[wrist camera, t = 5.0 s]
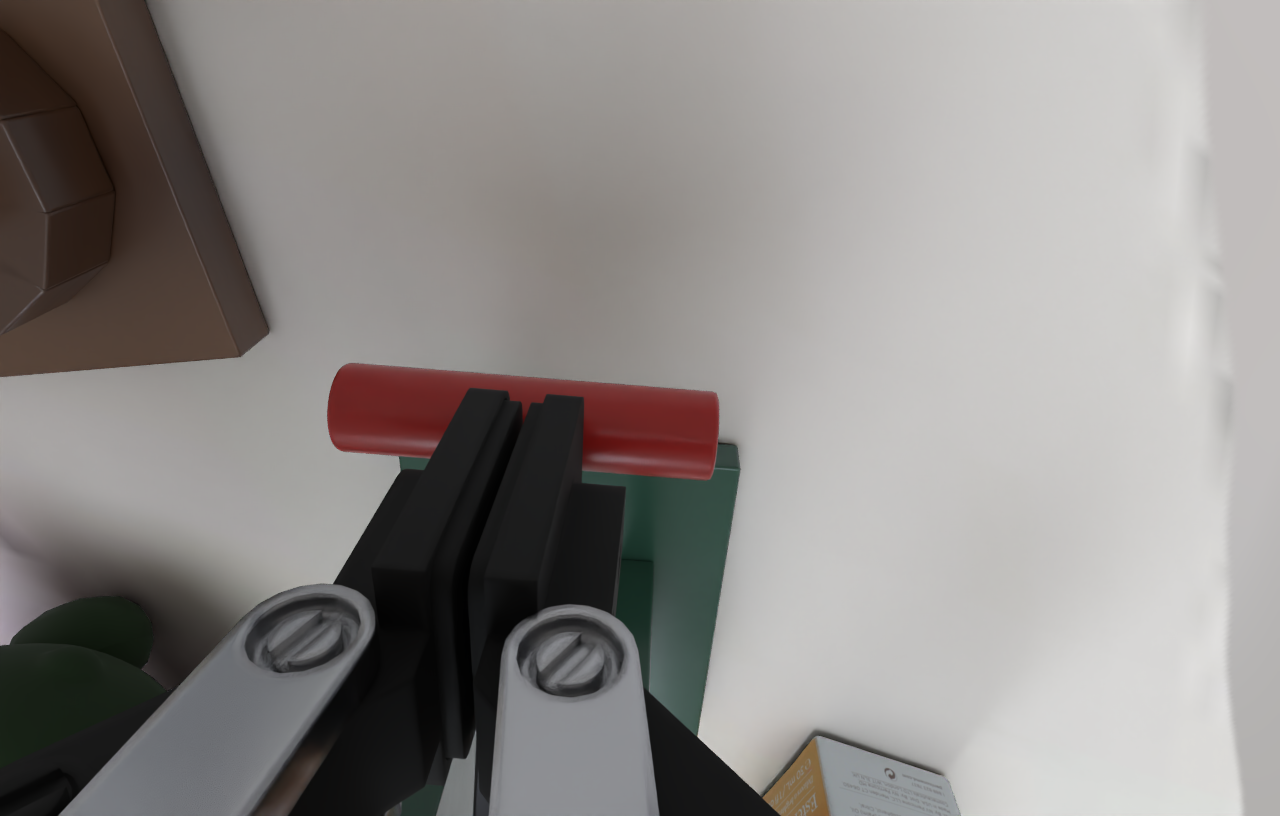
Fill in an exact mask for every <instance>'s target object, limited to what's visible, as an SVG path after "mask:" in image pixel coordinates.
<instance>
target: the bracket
mask: <svg viewBox="0 0 1280 816" xmlns="http://www.w3.org/2000/svg"><path fill="white" fill-rule="evenodd" d="M399 460H400V469H401V471H402V470H404V469H417V470H424V469H425V467H426V465H427V464H428V462H429V460H430V459H429V458H416V457H404V456H399ZM740 470H741V469H740V462H739V455H738V448H737V446H735V445H725V444H718V446H717V455H716V462H715V467H714V472H713V475H712V477H711V479H709V480H706V481H704V480H692V479H679V478H667V477H654V476H642V475H629V474H617V473H604V472H592V471H582V483H588V484H600V485H612V486H624V487H626V501H625V515H624V530H623V543H622V555H621V567H620V577H619V587H618V597H617V607H616V616H615V618H617V619H618V620H620V621H621V622H623V624H624V625H625V626H626V627H627V628H628V630H629V631H630V632H631V633H632V635H633V637H634V640H635V643H636V646H637V649H638V652H639V660H640V668H641V676H642V683H643V687H644V688H645V689H646V690H648V691H649V692H650V693H651V694H652V695H653V696H654V697H655V698H656V699H657V700H658V701H659V702H660V703H661V704H662V705H664V706H665V707H666V708H667V709H668V710H669V711H670V712H671V713H672V714H673V715H674V716H675V717H676V718H677V719H678V720H680V721H681V722H682V723H683V724H684V725H685V726H686V727H687V728H688V729H689V730H690V731H691V732H692V733H693V734H694V735H696V736H697V735H698V729H699V723H700V717H701V711H702V704H703V698H704V692H705V686H706V680H707V674H708V667H709V661H710V655H711V649H712V643H713V636H714V630H715V624H716V618H717V612H718V606H719V599H720V593H721V587H722V581H723V575H724V568H725V562H726V556H727V550H728V544H729V538H730V531H731V525H732V519H733V513H734V507H735V500H736V494H737V488H738V482H739V476H740ZM475 753H476V731H475V734H474V738H473V741H472V745H471V748H470V751H469V754H468V756H467V758H466V759H457V758H453V760H452V763H451V767H450V770H449V773H448V777H447V780H446V783H445V786H439V785H427V784H426V785H425V787H424V788H422V789H421V790H419V791H418V792H416V793H414V794H413V795H411V796H410V797H408V798H407V799H405V800H404V801H402V802H401V815H400V816H473V800H474V776H475Z"/></svg>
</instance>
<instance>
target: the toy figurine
mask: <svg viewBox="0 0 1280 816" xmlns="http://www.w3.org/2000/svg"><path fill="white" fill-rule="evenodd" d="M153 640H154V637H153V630H152V623H151V621H150V619H149V618H148V616H147V615H146V613H145V612H144V610H143V609H142V608H141V607H140V606H139V605H138V604H136V603H134V602H131V601H129V600H127V599H125V598H122V597H120V596H100V597H91V598H82V599H78V600H75V601H72V602H69V603H66V604H63V605H60V606H58V607H56V608H53V609H51V610H48V611H46V612H45V613H43V614H42V615H40V616H39V617H37V618H36V619H35V620H33V621H32V622H30V623H29V624H28V625H26V626H25V627H23V628H22V629H21V630H20V631H19V632H18V633H17V634H16V635H15V636H14V637H13V638H12V640H11V642H10V645H2V646H0V769H1V768H3V767H5V766H7V765H8V764H10V763H12V762H14V761H16V760H18V759H20V758H22V757H25V756H27V755H29V754H31V753H33V752H36V751H38V750H40V749H42V748H44V747H47V746H49V745H51V744H53V743H55V742H57V741H60V740H62V739H64V738H66V737H68V736H71V735H73V734H75V733H77V732H79V731H82V730H84V729H86V728H88V727H90V726H92V725H95V724H97V723H99V722H101V721H103V720H106V719H108V718H110V717H112V716H114V715H116V714H119V713H121V712H123V711H125V710H127V709H130V708H132V707H134V706H136V705H138V704H141V703H143V702H145V701H147V700H149V699H151V698H154V697H156V696H158V695H160V694H162V693H165V692H167V690H165V689H164V688H163V687H162V686H161V685H160V684H159V683H158V682H157V681H156V680H155V679H154V678H152V677H151V676H150V675H148V674H147V673H145V672H144V671H142V670H141V668H142V667H143V666H144V665H145V664H146V663H147V662H148V659H149V655H150V652H151V648H152V645H153Z"/></svg>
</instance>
